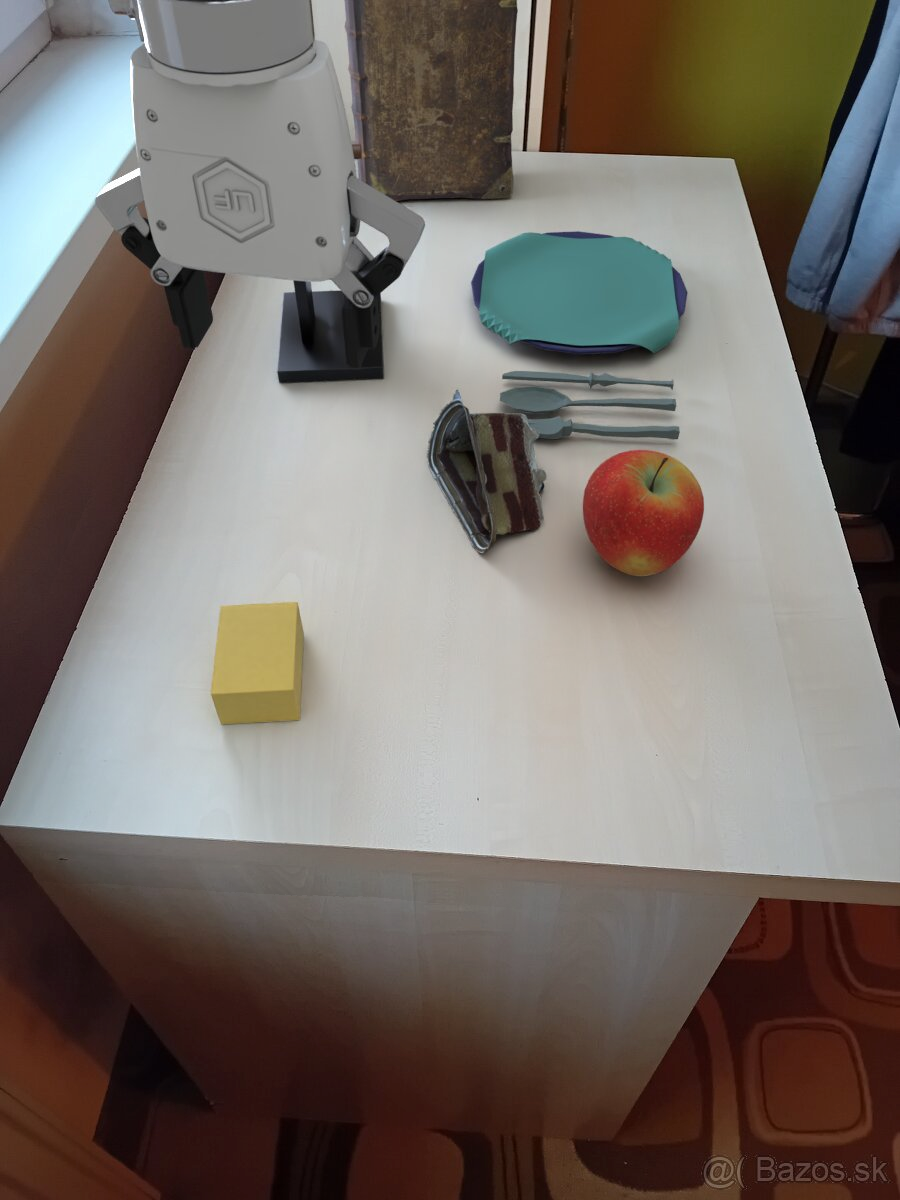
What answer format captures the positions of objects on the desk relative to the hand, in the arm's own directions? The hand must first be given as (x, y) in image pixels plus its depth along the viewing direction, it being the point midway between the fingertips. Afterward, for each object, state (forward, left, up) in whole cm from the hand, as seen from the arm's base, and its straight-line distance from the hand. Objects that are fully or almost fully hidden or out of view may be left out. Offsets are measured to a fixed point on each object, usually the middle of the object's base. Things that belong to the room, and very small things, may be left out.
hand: (278, 345), depth 56 cm
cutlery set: (+23, +26, -19) cm, 39 cm away
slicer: (+1, +27, -18) cm, 32 cm away
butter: (-3, -10, -18) cm, 21 cm away
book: (+12, +54, -19) cm, 58 cm away
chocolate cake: (+14, +6, -19) cm, 24 cm away
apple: (+23, -1, -19) cm, 30 cm away
